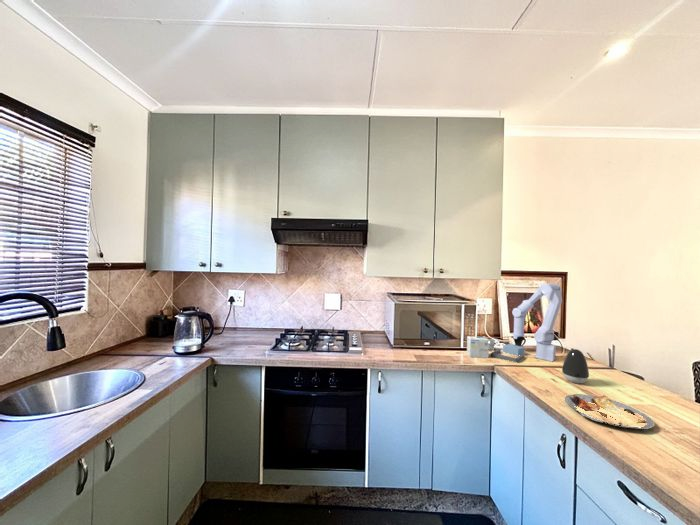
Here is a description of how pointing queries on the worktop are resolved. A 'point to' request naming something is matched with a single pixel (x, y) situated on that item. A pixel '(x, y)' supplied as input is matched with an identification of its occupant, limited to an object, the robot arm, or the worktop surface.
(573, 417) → the worktop surface
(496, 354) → the display bay
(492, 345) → the grey metal canister
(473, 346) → the light bulb box
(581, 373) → the dark grey rounded dome
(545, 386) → the worktop surface
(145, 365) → the worktop surface
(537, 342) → the robot arm
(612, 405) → the food plate
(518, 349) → the carton
